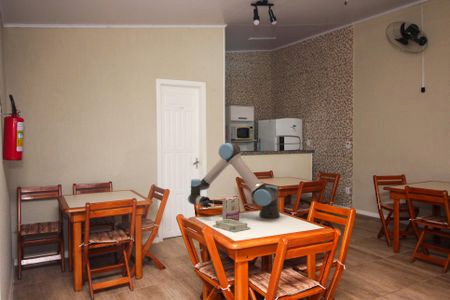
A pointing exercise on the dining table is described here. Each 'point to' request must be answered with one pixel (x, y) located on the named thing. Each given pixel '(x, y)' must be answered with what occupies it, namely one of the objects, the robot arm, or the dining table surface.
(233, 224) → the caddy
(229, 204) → the candy bar box
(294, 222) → the dining table surface
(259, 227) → the dining table surface
